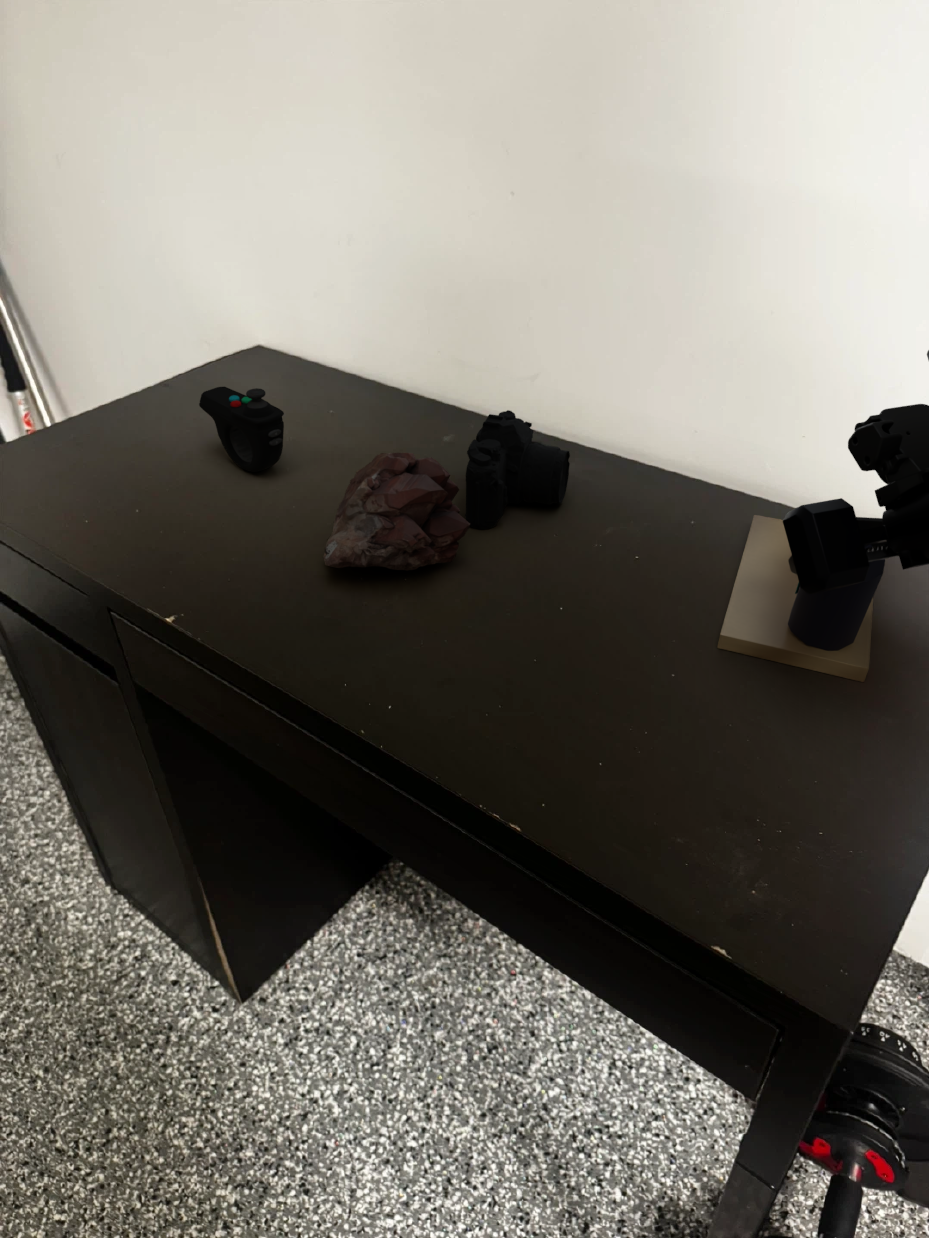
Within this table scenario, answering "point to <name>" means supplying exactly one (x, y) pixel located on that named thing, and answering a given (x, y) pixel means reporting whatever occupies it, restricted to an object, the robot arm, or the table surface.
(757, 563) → the birch board
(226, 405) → the controller
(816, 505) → the robot arm
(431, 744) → the table surface
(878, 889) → the table surface
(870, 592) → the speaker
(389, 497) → the mineral specimen
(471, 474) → the film camera
